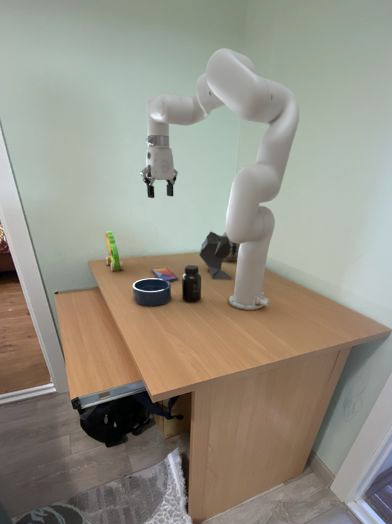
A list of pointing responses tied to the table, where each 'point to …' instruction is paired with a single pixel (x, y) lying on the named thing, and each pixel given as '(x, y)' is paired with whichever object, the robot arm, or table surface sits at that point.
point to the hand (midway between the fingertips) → (160, 196)
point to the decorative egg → (232, 250)
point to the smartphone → (164, 274)
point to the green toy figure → (112, 253)
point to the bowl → (152, 292)
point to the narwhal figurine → (215, 254)
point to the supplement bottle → (191, 284)
